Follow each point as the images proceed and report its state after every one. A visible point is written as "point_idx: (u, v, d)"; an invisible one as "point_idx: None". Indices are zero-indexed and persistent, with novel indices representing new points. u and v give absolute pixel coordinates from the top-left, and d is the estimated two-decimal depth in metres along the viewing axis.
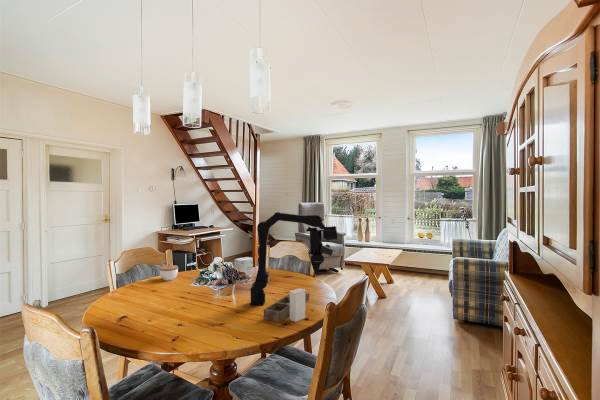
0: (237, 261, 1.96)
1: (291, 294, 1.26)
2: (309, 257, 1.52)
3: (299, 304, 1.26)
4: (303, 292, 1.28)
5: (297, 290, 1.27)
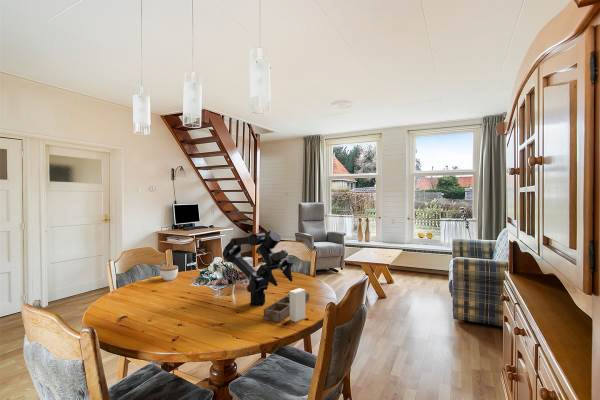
0: None
1: (291, 294, 1.26)
2: (282, 272, 1.41)
3: (299, 304, 1.26)
4: (303, 292, 1.28)
5: (297, 290, 1.27)
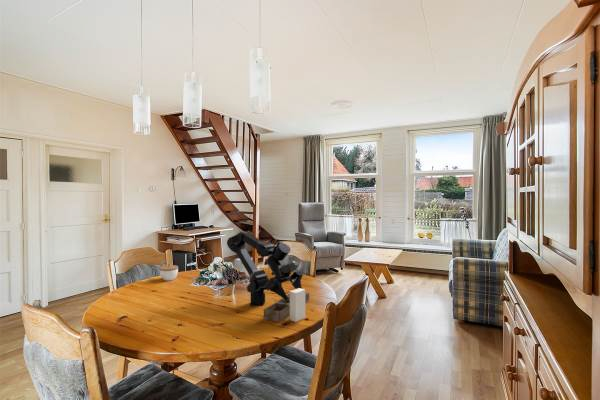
0: (237, 261, 1.96)
1: (291, 294, 1.26)
2: None
3: (299, 304, 1.26)
4: (303, 292, 1.28)
5: (297, 290, 1.27)
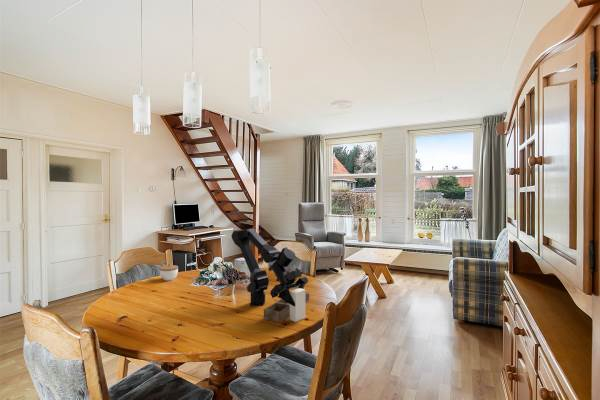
0: (237, 261, 1.96)
1: (291, 294, 1.26)
2: None
3: (299, 303, 1.26)
4: (303, 292, 1.28)
5: (297, 290, 1.27)
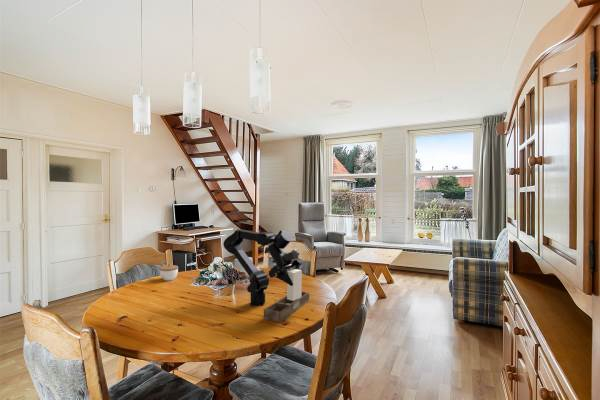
0: (237, 261, 1.96)
1: (289, 274, 1.30)
2: None
3: (297, 283, 1.31)
4: (300, 272, 1.33)
5: (294, 271, 1.32)
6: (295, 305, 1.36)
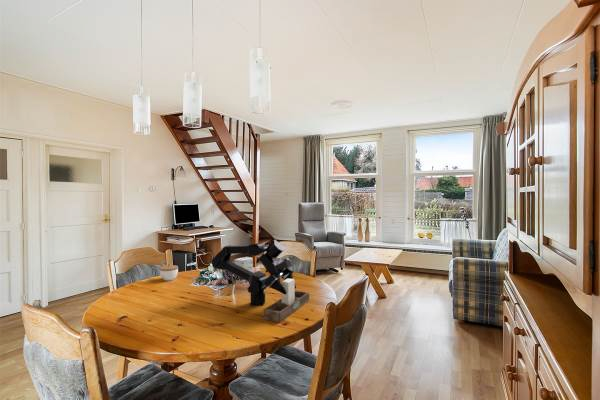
0: (237, 261, 1.96)
1: (283, 284, 1.36)
2: None
3: (291, 292, 1.38)
4: (293, 281, 1.39)
5: (288, 280, 1.38)
6: (295, 305, 1.36)
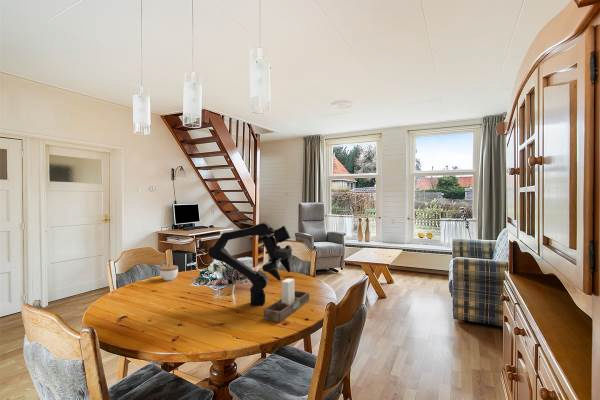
0: None
1: (283, 284, 1.36)
2: (280, 261, 1.52)
3: (291, 292, 1.38)
4: (293, 281, 1.39)
5: (288, 280, 1.38)
6: (295, 305, 1.36)
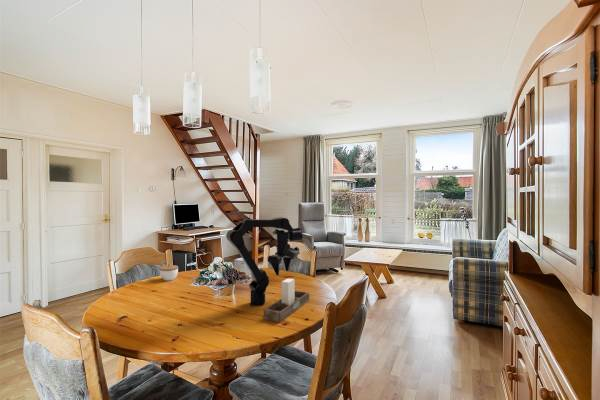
0: (237, 261, 1.96)
1: (283, 284, 1.36)
2: (283, 258, 1.58)
3: (291, 292, 1.38)
4: (293, 281, 1.39)
5: (288, 280, 1.38)
6: (295, 305, 1.36)
